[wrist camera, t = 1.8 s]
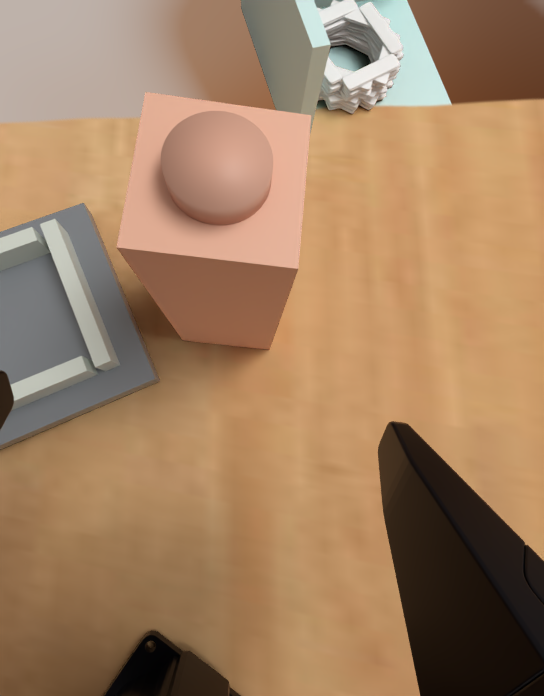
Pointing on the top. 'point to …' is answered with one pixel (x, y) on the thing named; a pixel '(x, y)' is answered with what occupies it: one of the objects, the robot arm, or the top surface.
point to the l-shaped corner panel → (342, 54)
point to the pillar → (216, 215)
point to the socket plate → (64, 325)
